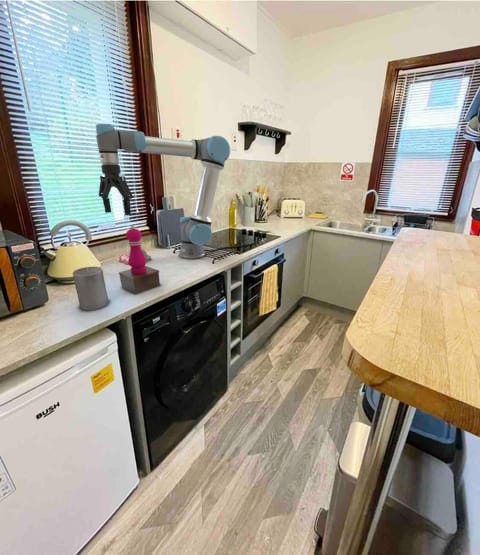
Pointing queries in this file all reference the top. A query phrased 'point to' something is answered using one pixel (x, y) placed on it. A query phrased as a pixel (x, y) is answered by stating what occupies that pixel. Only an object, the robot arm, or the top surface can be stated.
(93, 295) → the pillar candle
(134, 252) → the pepper mill
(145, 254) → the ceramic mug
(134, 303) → the top surface
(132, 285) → the block
